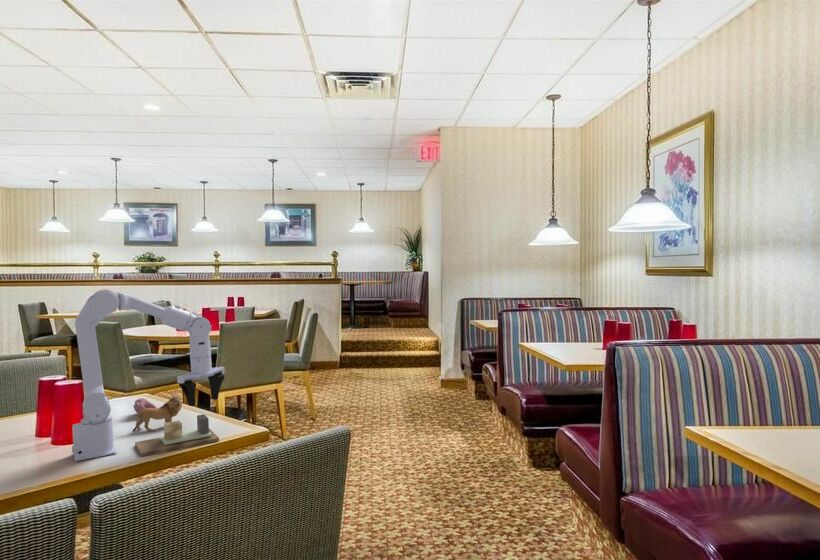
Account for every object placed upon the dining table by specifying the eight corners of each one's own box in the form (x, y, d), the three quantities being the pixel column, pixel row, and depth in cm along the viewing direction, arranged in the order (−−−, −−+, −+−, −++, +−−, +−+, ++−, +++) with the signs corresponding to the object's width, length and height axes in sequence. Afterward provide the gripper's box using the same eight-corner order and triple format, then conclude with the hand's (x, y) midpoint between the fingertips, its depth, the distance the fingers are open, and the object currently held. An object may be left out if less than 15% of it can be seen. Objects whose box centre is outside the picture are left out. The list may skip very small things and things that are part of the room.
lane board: (141, 456, 141) (140, 453, 140) (135, 445, 150) (135, 442, 150) (219, 441, 152) (219, 437, 152) (209, 431, 161) (209, 428, 161)
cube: (167, 440, 147) (166, 426, 147) (164, 437, 151) (163, 423, 150) (182, 437, 150) (182, 423, 149) (179, 434, 153) (179, 420, 153)
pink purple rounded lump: (145, 416, 186) (134, 399, 185) (158, 409, 187) (147, 392, 186) (140, 424, 176) (128, 406, 175) (153, 416, 178) (142, 398, 176)
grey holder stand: (164, 445, 146) (163, 426, 145) (159, 438, 151) (159, 421, 151) (211, 435, 153) (211, 418, 152) (205, 430, 158) (205, 413, 158)
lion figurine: (180, 421, 173) (179, 393, 172) (185, 425, 169) (184, 396, 168) (129, 431, 163) (128, 402, 163) (134, 435, 159) (133, 405, 159)
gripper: (186, 362, 149) (189, 410, 150) (230, 353, 161) (232, 397, 162) (171, 360, 153) (174, 407, 154) (215, 351, 165) (218, 395, 166)
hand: (203, 402), depth 158 cm, fingers open, 7 cm apart
